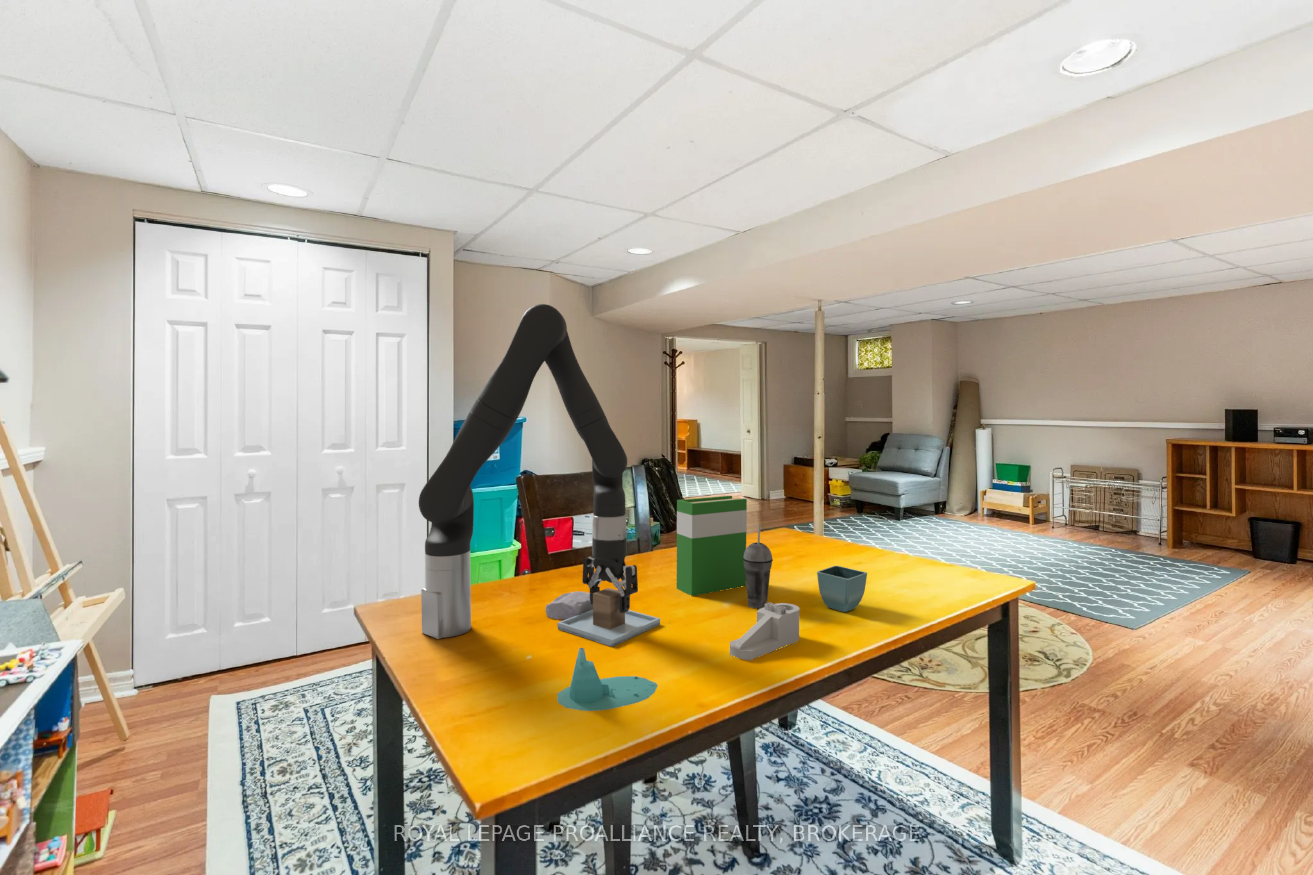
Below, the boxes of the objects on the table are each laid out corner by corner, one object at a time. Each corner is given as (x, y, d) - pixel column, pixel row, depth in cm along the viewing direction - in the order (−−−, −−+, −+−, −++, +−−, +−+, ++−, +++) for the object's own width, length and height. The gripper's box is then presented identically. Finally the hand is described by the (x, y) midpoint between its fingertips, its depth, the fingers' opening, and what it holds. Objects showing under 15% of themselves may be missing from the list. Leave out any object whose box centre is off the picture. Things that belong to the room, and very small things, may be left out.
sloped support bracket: (724, 653, 117) (725, 613, 117) (782, 632, 129) (783, 596, 128) (746, 663, 113) (746, 621, 112) (804, 640, 124) (805, 602, 124)
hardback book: (729, 579, 168) (730, 495, 167) (745, 586, 162) (746, 498, 161) (676, 588, 159) (677, 500, 158) (691, 596, 153) (692, 503, 152)
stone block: (542, 625, 137) (582, 621, 134) (539, 605, 137) (578, 600, 134) (565, 611, 148) (602, 607, 145) (562, 592, 148) (598, 587, 145)
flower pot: (848, 617, 138) (848, 579, 137) (815, 607, 144) (815, 571, 144) (867, 608, 144) (868, 572, 143) (835, 600, 150) (835, 565, 150)
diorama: (677, 700, 98) (678, 649, 98) (558, 723, 91) (558, 668, 91) (651, 670, 110) (651, 624, 109) (543, 689, 102) (543, 640, 102)
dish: (612, 646, 120) (612, 640, 120) (557, 629, 129) (557, 622, 129) (660, 624, 132) (660, 618, 132) (606, 609, 142) (606, 604, 142)
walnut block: (610, 629, 127) (610, 597, 127) (593, 624, 130) (592, 593, 130) (625, 623, 131) (625, 592, 131) (608, 618, 134) (608, 587, 134)
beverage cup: (739, 608, 144) (739, 526, 143) (746, 599, 150) (746, 521, 149) (769, 612, 141) (770, 528, 140) (774, 603, 148) (775, 523, 147)
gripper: (574, 533, 131) (574, 605, 132) (622, 542, 123) (622, 619, 123) (597, 528, 137) (597, 597, 138) (645, 536, 129) (645, 610, 129)
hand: (609, 607), depth 131 cm, fingers open, 8 cm apart
